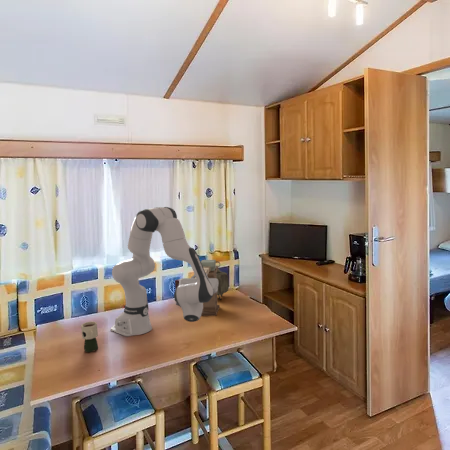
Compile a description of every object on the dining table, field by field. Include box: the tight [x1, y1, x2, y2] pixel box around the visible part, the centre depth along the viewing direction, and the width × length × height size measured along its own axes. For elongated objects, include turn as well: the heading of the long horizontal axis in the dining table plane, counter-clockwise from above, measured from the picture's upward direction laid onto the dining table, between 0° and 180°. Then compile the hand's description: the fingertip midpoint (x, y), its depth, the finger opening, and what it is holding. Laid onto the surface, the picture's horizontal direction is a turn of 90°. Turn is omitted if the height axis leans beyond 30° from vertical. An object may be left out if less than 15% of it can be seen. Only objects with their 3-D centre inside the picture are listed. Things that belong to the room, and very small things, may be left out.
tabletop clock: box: [216, 261, 230, 300], centre depth 246 cm, size 14×9×25 cm, turn 128°
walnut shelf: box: [201, 265, 220, 317], centre depth 222 cm, size 18×9×26 cm, turn 172°
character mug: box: [80, 321, 99, 353], centre depth 178 cm, size 11×7×13 cm, turn 32°
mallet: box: [200, 259, 217, 275], centre depth 210 cm, size 27×8×5 cm, turn 172°
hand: (200, 273), depth 199 cm, fingers closed on mallet, 4 cm apart
